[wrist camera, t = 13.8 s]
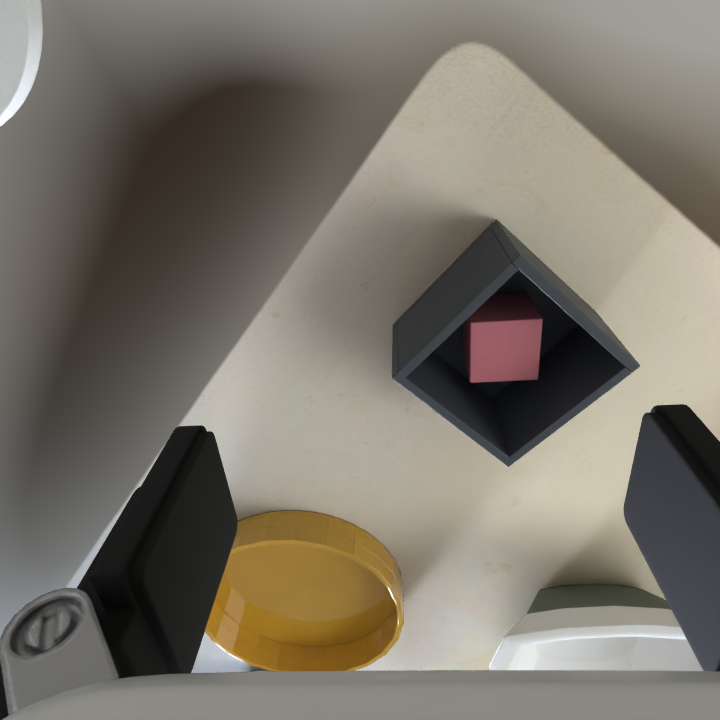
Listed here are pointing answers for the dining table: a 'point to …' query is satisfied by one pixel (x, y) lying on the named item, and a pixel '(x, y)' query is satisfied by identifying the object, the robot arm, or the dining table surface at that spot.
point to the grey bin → (506, 398)
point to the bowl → (596, 632)
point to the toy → (503, 339)
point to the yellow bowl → (307, 595)
